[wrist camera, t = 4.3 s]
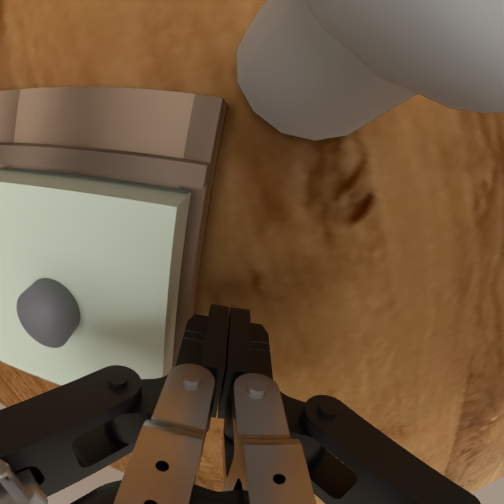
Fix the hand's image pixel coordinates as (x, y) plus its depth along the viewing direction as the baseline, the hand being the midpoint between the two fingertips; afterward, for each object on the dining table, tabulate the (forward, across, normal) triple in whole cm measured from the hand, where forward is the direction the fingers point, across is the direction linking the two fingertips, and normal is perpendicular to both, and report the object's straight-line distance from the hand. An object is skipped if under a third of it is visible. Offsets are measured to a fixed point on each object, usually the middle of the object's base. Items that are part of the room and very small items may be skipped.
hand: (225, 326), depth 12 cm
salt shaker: (+4, -2, -10) cm, 11 cm away
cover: (+1, +7, 0) cm, 7 cm away
